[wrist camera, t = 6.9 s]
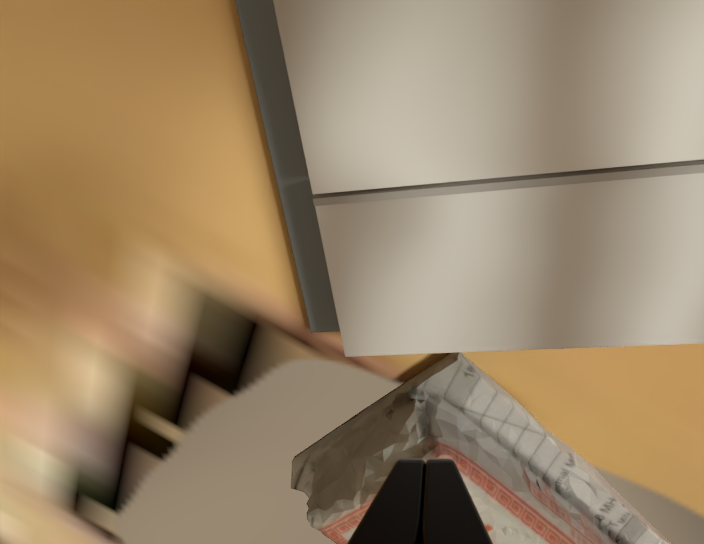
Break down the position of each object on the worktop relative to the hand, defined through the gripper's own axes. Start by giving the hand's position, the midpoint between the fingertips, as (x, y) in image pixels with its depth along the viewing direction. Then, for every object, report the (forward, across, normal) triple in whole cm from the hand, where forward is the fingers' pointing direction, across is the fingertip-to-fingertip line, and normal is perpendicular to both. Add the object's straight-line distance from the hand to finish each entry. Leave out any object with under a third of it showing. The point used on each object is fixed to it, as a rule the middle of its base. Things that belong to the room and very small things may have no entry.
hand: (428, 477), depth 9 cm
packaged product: (+13, -2, +17) cm, 21 cm away
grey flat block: (+12, -4, +2) cm, 13 cm away
